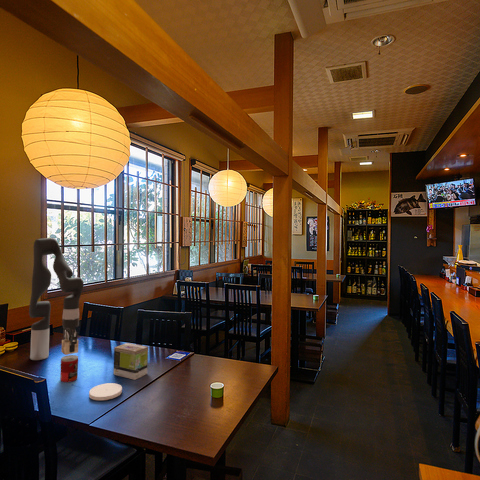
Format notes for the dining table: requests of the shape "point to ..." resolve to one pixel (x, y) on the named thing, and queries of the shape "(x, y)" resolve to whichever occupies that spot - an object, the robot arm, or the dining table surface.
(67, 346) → the block
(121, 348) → the tea box
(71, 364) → the canned food
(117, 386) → the plastic lid
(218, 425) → the dining table surface
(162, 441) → the dining table surface
